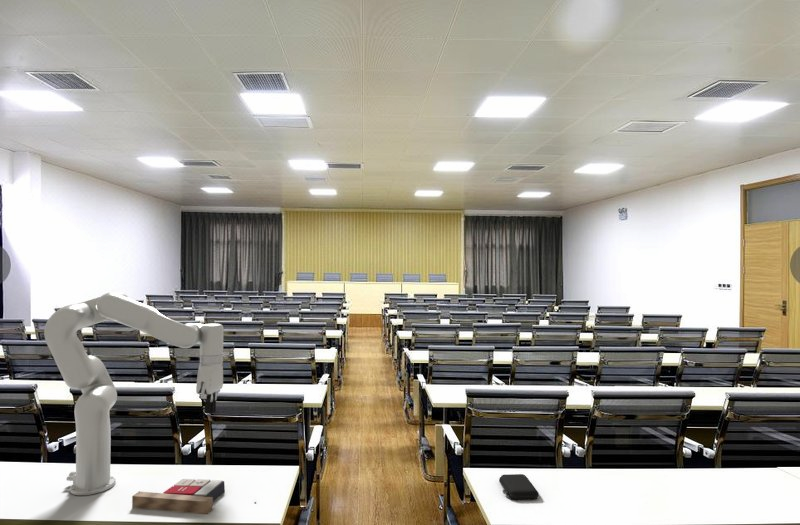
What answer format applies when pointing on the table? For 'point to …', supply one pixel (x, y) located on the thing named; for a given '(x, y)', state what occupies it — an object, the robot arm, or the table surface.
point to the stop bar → (172, 502)
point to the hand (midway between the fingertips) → (210, 412)
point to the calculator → (198, 488)
